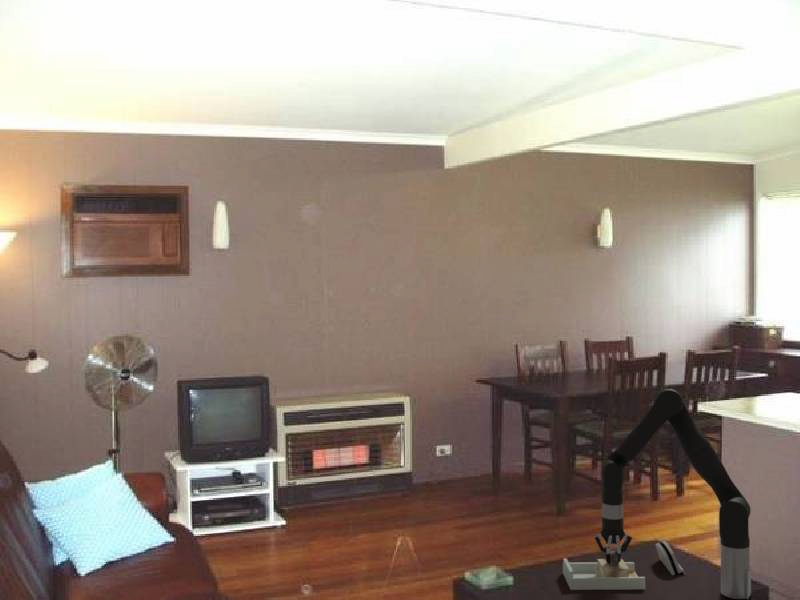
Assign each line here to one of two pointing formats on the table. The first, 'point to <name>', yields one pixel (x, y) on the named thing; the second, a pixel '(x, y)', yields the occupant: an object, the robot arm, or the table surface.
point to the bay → (589, 579)
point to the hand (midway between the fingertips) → (612, 562)
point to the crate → (612, 567)
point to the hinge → (668, 558)
